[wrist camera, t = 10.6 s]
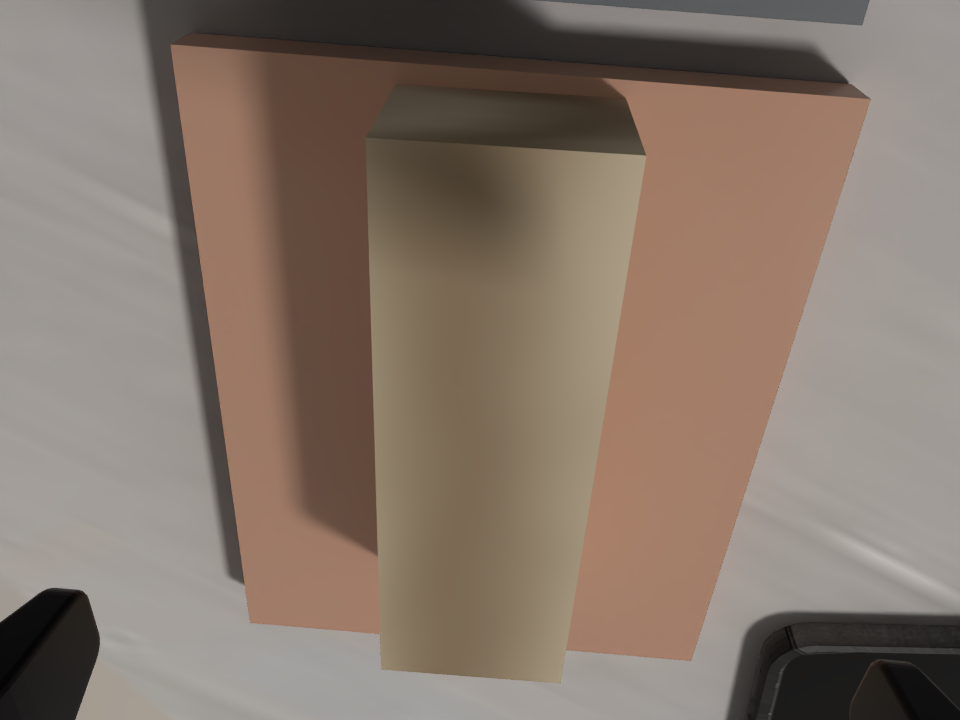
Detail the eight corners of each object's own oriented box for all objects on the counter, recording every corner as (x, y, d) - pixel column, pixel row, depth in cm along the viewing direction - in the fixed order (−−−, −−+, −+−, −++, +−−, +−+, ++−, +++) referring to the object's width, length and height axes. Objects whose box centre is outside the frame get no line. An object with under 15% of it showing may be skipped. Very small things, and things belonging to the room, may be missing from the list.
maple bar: (626, 97, 14) (645, 155, 12) (557, 579, 21) (560, 683, 18) (395, 83, 14) (365, 137, 12) (399, 567, 21) (381, 669, 18)
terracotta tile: (851, 84, 15) (870, 99, 14) (685, 630, 23) (691, 661, 22) (191, 32, 15) (170, 44, 14) (260, 593, 23) (249, 622, 22)
